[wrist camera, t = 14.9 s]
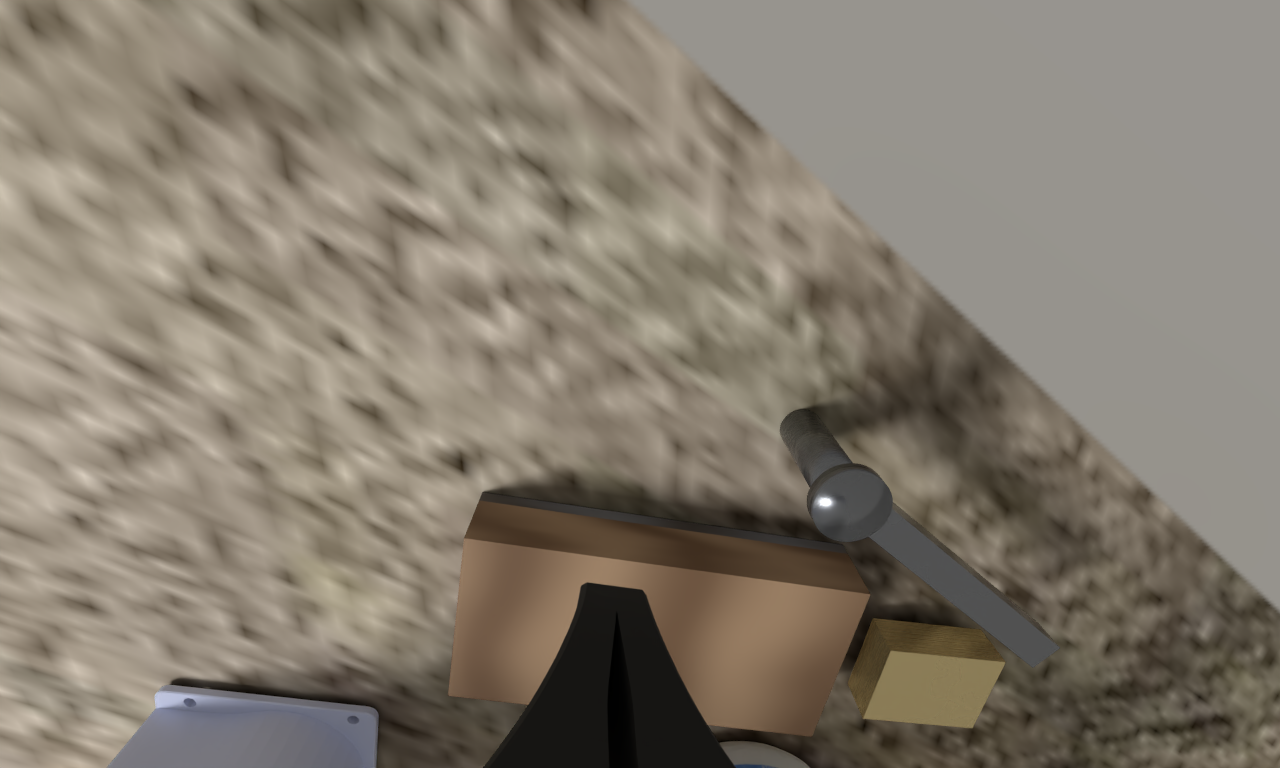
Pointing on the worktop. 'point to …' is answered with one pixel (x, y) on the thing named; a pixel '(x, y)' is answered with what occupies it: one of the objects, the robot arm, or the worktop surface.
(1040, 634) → the lever
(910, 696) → the yellow rectangular block
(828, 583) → the body
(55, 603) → the worktop surface
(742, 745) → the supplement tub
